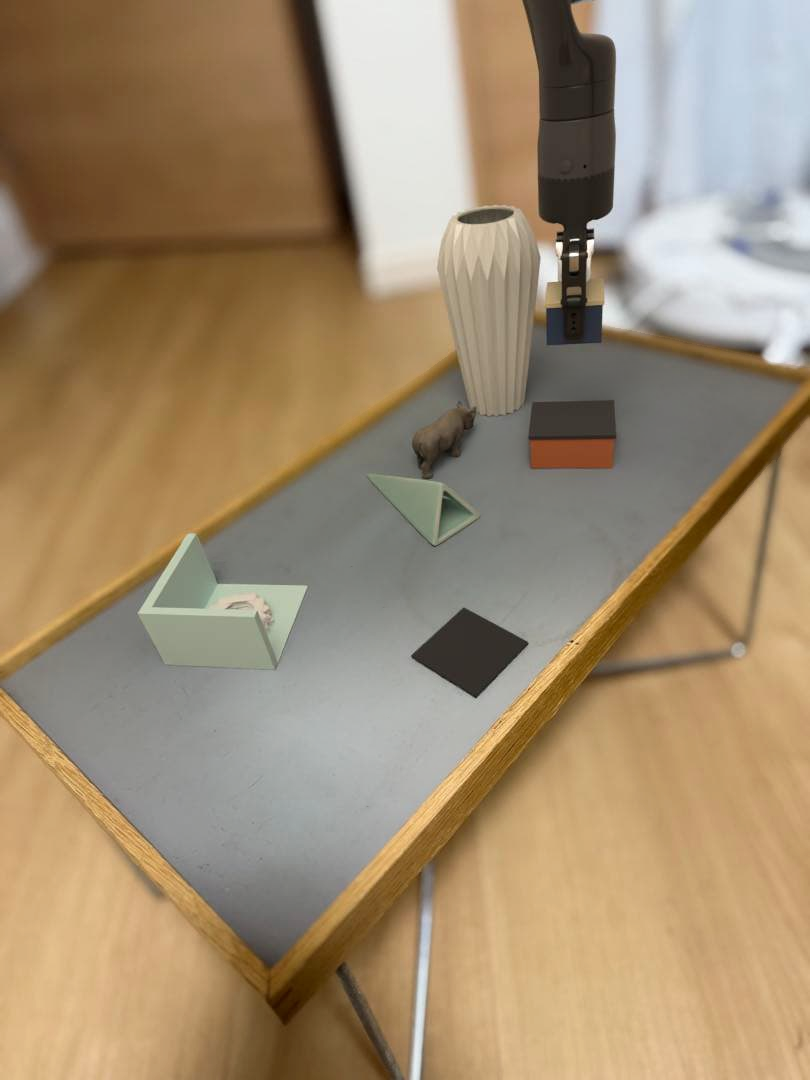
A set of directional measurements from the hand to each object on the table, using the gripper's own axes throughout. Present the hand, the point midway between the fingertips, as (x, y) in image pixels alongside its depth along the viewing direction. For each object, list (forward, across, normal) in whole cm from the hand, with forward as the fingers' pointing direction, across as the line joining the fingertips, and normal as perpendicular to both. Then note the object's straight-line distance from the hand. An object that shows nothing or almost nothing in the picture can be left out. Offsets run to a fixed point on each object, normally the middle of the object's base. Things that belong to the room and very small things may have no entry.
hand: (574, 324), depth 81 cm
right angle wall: (+17, -33, +34) cm, 50 cm away
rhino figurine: (+17, 0, +16) cm, 24 cm away
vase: (+17, +13, +11) cm, 24 cm away
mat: (+17, -35, +9) cm, 40 cm away
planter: (+17, -13, +20) cm, 30 cm away
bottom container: (+17, 0, 0) cm, 17 cm away
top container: (+1, 0, 0) cm, 1 cm away
